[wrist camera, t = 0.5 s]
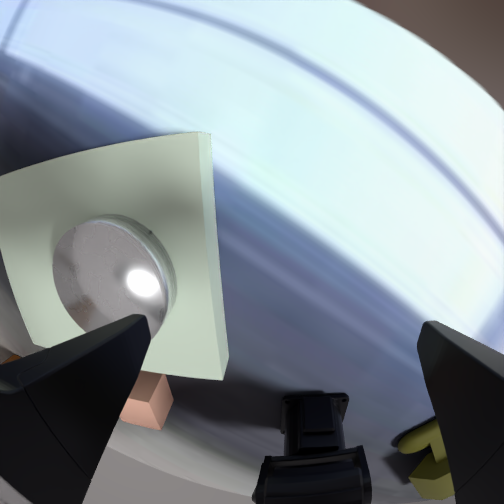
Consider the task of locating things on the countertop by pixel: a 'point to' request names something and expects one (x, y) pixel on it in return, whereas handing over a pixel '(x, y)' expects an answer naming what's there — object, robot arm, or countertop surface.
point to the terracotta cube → (148, 401)
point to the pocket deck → (140, 209)
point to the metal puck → (114, 273)
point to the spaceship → (429, 462)
